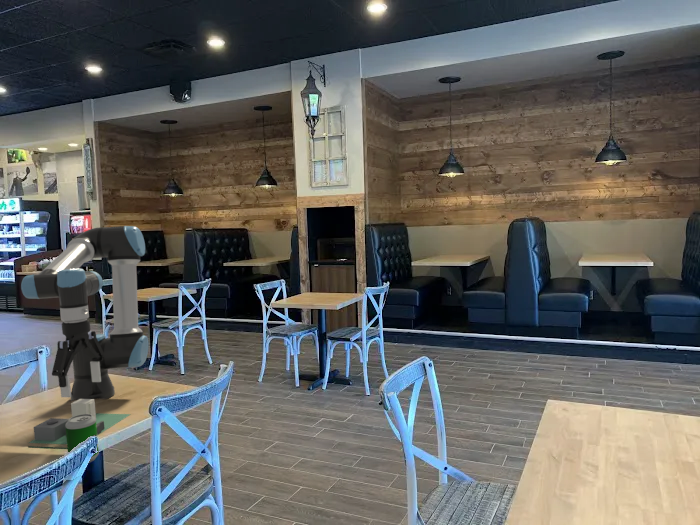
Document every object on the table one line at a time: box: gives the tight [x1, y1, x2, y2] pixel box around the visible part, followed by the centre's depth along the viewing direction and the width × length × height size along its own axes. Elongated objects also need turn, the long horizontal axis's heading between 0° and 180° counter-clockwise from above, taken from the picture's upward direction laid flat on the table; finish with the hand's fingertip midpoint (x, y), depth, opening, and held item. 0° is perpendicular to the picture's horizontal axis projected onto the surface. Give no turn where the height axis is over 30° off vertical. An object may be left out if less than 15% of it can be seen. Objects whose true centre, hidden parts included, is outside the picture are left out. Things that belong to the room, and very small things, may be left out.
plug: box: [70, 399, 97, 418], centre depth 160 cm, size 4×6×10 cm
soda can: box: [65, 414, 100, 464], centre depth 145 cm, size 8×8×12 cm
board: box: [28, 412, 132, 450], centre depth 165 cm, size 24×18×6 cm
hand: (82, 389), depth 160 cm, fingers open, 13 cm apart
